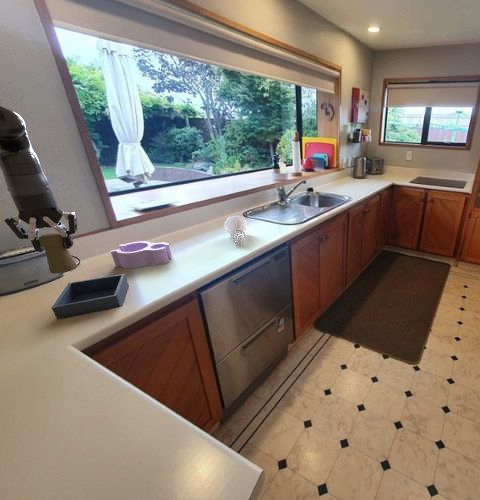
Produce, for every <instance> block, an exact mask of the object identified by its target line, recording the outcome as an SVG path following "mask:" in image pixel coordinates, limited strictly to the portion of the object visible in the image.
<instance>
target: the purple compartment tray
mask: <svg viewBox="0 0 480 500" xmlns="http://www.w3.org/2000/svg"><path fill="white" fill-rule="evenodd" d="M118 246H119V248H117V249H112V250H110V254H111V257H112V260H113V263H114V266H115V267H122V268H123V269H124V268H125V269H137V268H142V267H145V266H151V265H155V266H157V265H158V266H159V265H164V264H168V263H169V262H170V260H171V259H173V256H172V251H171V247H170V243H168V242H163V241H161V242H150V241H146V240H145V241H144V240H143V241H132V242H129V243H120V244H118Z"/></svg>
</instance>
